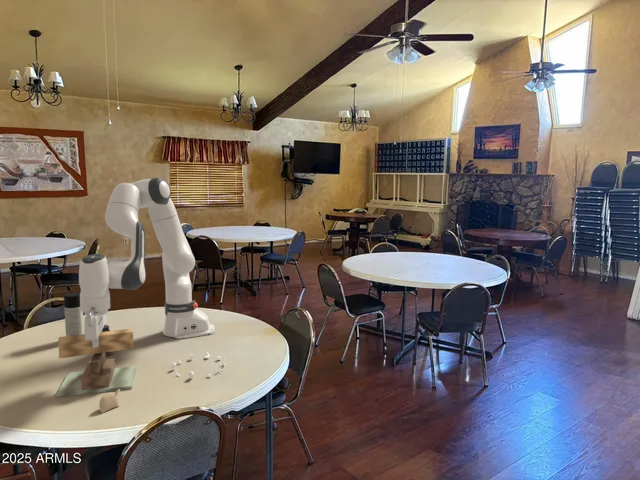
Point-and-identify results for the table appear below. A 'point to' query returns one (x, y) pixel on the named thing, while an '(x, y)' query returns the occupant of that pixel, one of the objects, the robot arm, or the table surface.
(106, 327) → the supplement bottle
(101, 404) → the decorative ornament
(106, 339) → the oak slat
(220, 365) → the game piece set
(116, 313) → the table surface
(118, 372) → the ridge stand
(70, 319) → the spray can
